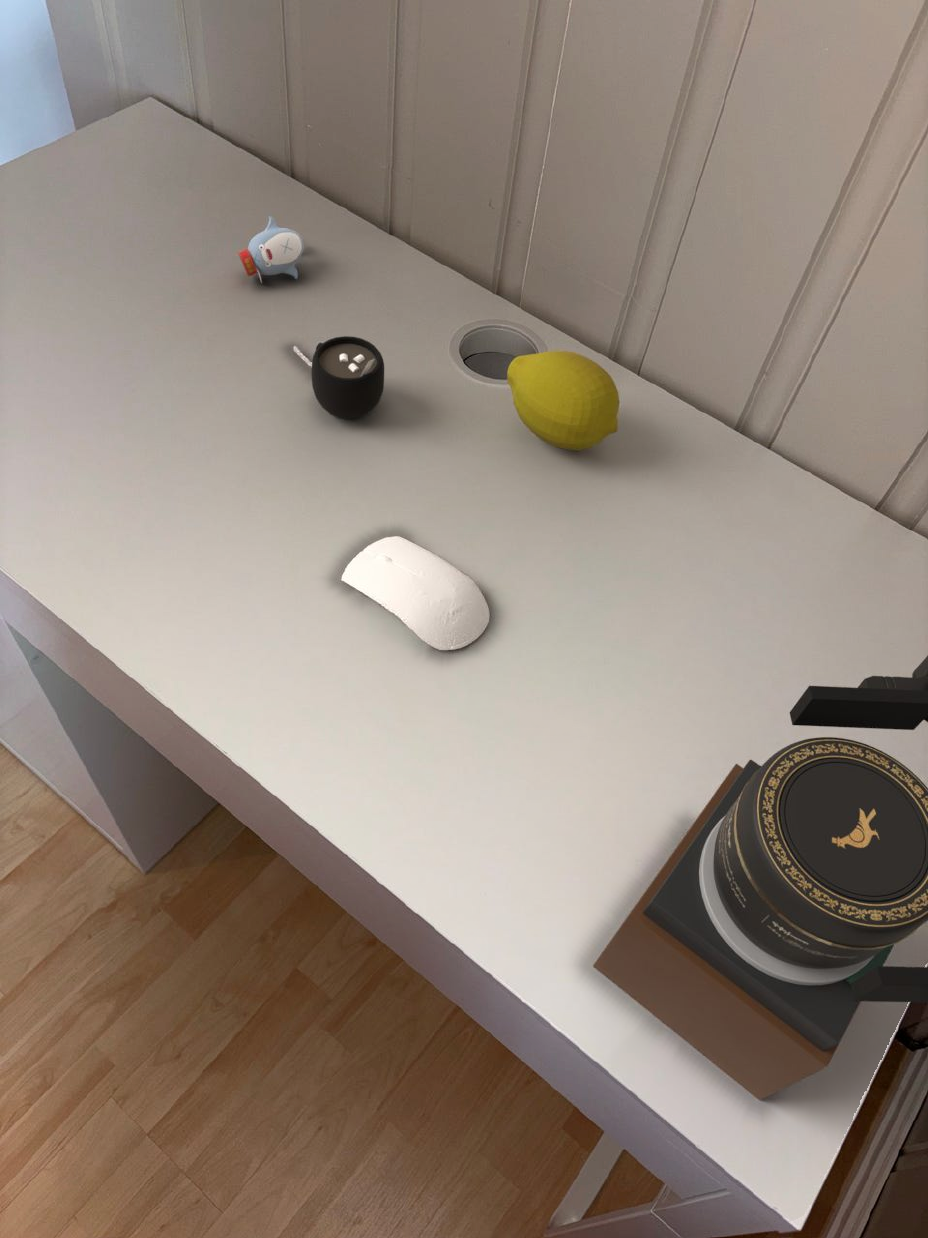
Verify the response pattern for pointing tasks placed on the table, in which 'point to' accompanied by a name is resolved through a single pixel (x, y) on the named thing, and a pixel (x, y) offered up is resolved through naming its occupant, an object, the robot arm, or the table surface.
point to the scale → (727, 970)
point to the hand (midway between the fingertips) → (829, 833)
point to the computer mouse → (420, 592)
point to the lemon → (564, 398)
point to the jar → (826, 854)
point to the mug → (347, 376)
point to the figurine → (273, 251)
